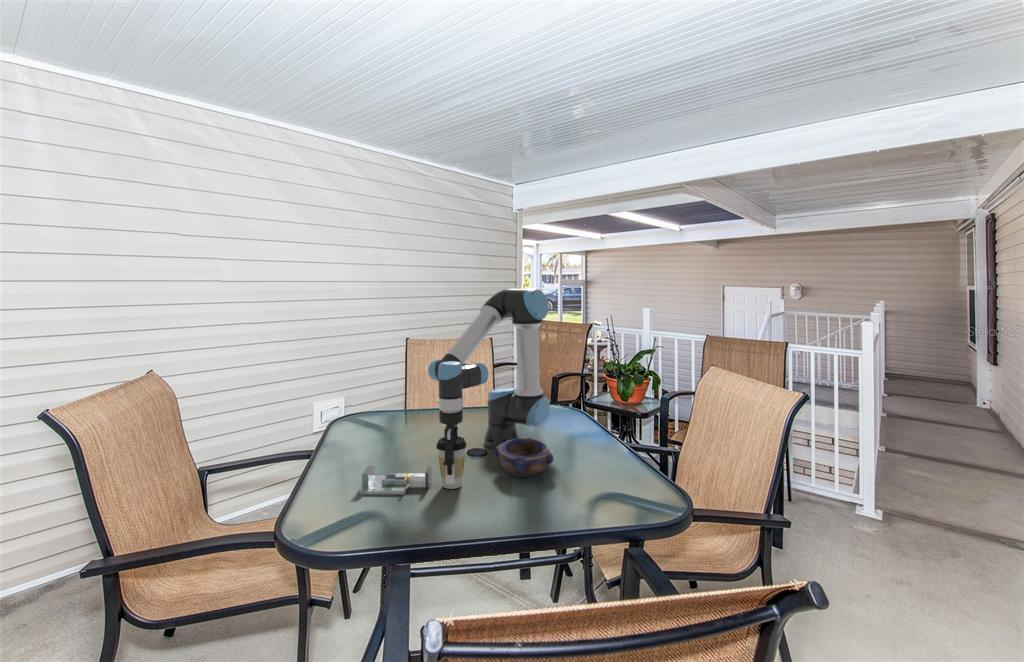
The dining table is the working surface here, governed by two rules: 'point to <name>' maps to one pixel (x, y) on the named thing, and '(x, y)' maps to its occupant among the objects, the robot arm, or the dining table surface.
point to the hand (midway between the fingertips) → (452, 477)
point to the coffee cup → (458, 461)
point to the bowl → (523, 456)
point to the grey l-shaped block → (382, 484)
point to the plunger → (417, 477)
